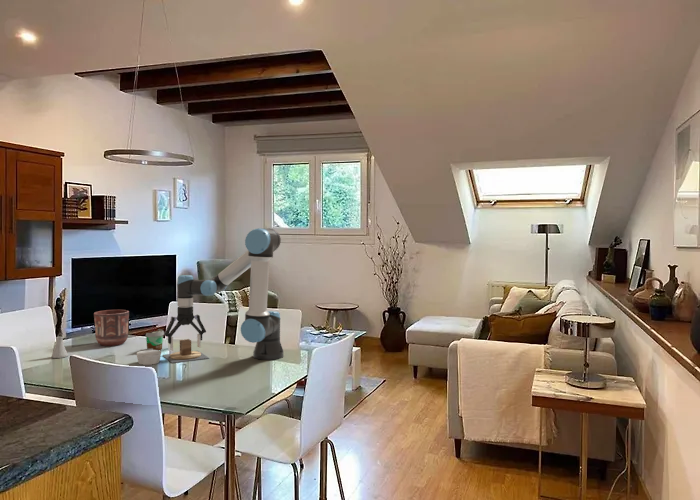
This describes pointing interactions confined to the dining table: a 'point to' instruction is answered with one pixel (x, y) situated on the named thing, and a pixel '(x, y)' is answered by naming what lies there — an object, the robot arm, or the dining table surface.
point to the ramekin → (148, 357)
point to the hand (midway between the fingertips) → (185, 348)
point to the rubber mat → (185, 360)
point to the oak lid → (185, 351)
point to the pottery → (111, 327)
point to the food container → (155, 340)
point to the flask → (59, 349)
